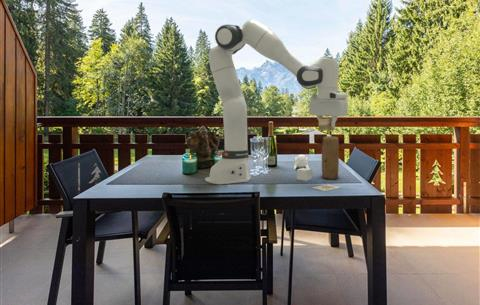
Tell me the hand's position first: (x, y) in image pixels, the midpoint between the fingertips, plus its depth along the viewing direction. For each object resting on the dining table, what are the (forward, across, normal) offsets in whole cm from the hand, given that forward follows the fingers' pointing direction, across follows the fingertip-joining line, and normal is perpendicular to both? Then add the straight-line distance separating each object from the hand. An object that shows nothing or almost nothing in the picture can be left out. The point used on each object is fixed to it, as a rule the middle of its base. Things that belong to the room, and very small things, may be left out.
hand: (326, 126), depth 168 cm
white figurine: (+26, -33, +16) cm, 45 cm away
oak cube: (+2, 0, 0) cm, 2 cm away
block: (+26, -8, +11) cm, 29 cm away
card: (+26, +7, -7) cm, 28 cm away
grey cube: (+26, -12, -2) cm, 29 cm away
